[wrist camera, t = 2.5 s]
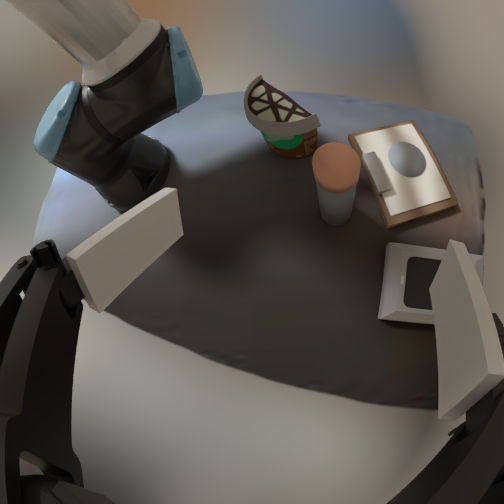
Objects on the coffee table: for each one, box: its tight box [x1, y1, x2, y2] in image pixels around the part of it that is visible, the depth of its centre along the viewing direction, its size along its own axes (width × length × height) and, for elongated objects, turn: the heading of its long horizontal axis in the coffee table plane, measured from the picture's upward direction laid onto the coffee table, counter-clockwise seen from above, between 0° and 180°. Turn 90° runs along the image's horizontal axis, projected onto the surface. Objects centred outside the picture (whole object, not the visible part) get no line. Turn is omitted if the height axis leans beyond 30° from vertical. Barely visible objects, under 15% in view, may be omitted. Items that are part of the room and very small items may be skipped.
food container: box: [244, 75, 320, 159], centre depth 35 cm, size 12×6×10 cm, turn 35°
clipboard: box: [348, 121, 457, 229], centre depth 33 cm, size 12×15×2 cm
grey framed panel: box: [378, 242, 484, 324], centre depth 28 cm, size 10×4×15 cm
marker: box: [312, 142, 361, 226], centre depth 29 cm, size 5×5×13 cm
